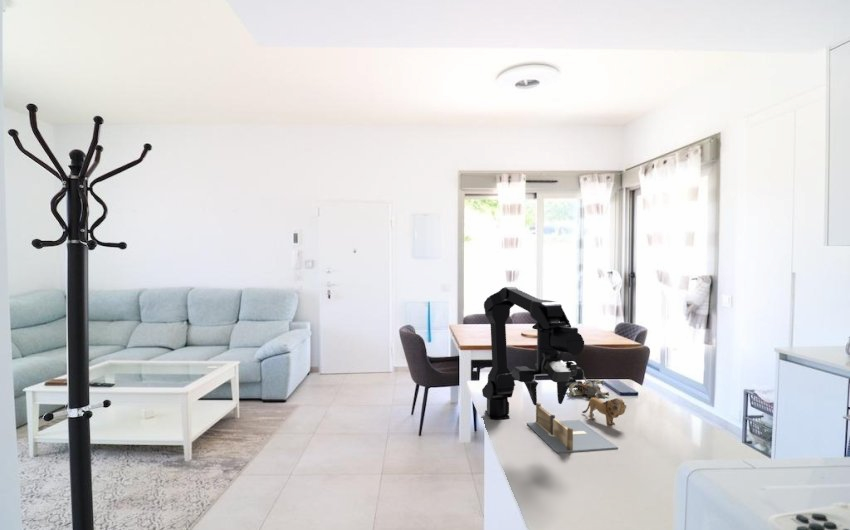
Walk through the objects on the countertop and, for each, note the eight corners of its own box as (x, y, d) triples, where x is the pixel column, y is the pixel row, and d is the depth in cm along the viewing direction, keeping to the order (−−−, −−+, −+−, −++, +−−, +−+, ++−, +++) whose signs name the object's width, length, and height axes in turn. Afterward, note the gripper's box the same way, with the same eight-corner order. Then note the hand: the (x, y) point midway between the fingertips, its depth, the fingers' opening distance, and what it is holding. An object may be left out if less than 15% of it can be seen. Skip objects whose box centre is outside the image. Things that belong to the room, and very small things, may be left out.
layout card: (557, 453, 101) (557, 451, 101) (526, 423, 120) (526, 422, 120) (618, 448, 104) (618, 447, 104) (578, 420, 123) (578, 419, 123)
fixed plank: (551, 436, 111) (551, 416, 111) (535, 422, 122) (535, 403, 122) (555, 436, 111) (556, 415, 111) (539, 421, 122) (539, 402, 122)
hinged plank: (552, 435, 111) (552, 416, 111) (556, 435, 111) (556, 416, 111) (569, 450, 102) (569, 429, 102) (573, 450, 102) (574, 429, 102)
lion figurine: (629, 427, 118) (629, 398, 118) (620, 431, 115) (620, 402, 115) (586, 412, 130) (586, 386, 131) (577, 415, 128) (577, 389, 128)
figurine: (621, 390, 139) (577, 392, 137) (620, 406, 139) (576, 408, 138) (592, 372, 159) (553, 373, 157) (591, 386, 159) (553, 387, 157)
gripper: (528, 355, 95) (528, 417, 95) (596, 353, 98) (596, 413, 98) (511, 346, 106) (511, 402, 106) (572, 344, 109) (572, 398, 109)
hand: (547, 404), depth 104 cm, fingers open, 7 cm apart
